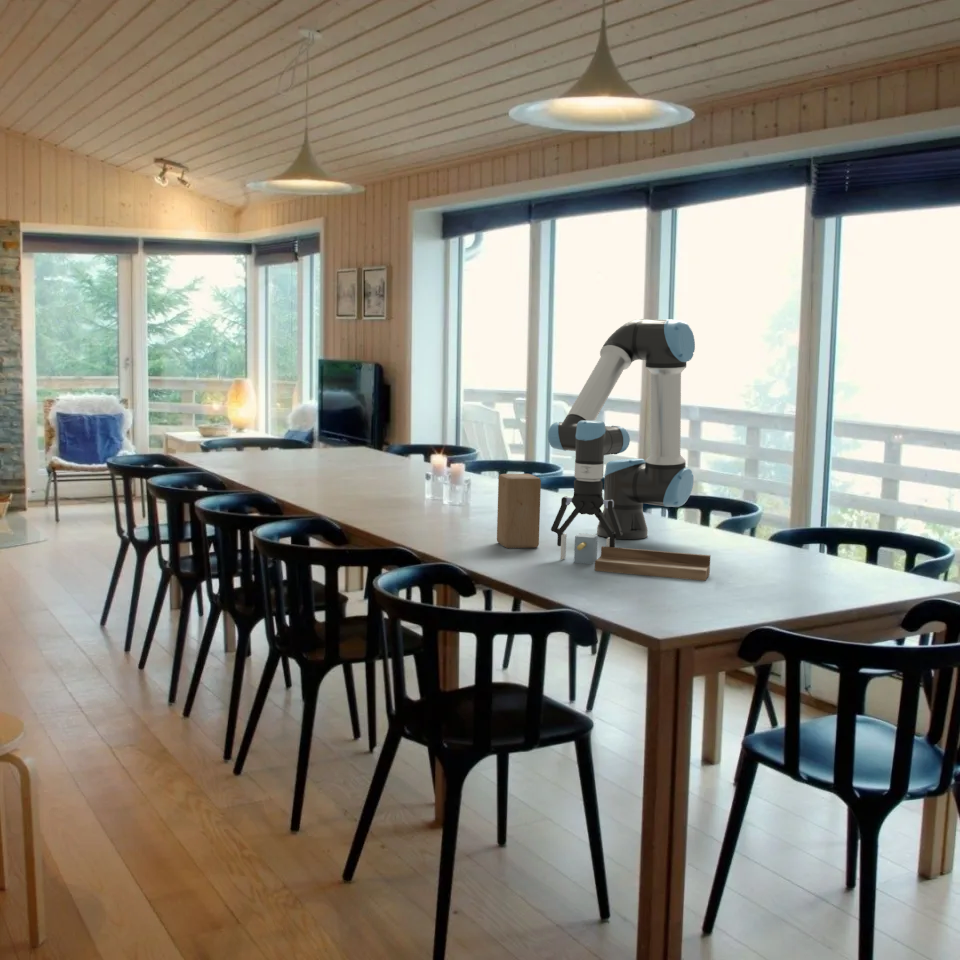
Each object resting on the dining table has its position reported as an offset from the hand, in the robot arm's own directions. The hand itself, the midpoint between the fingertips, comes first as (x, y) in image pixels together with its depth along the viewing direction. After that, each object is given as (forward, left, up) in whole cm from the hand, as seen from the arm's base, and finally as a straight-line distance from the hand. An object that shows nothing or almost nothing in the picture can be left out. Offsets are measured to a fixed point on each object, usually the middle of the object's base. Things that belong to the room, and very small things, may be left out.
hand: (585, 560), depth 304 cm
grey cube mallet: (+2, 0, 0) cm, 2 cm away
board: (+7, +19, 0) cm, 20 cm away
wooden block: (-14, -23, 0) cm, 27 cm away
